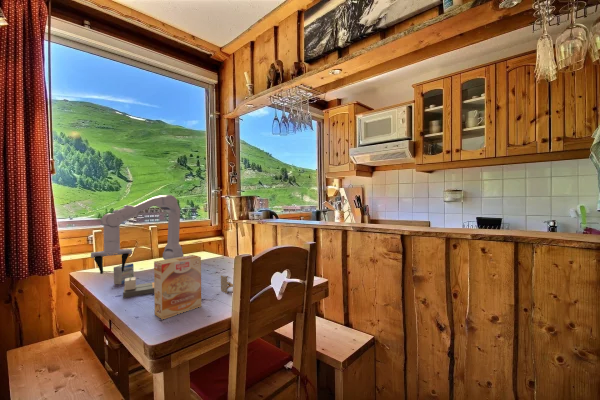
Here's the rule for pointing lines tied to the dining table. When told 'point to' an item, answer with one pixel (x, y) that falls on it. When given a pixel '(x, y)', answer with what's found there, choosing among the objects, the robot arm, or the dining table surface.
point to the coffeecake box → (177, 285)
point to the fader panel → (139, 290)
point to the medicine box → (123, 273)
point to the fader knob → (130, 283)
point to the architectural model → (225, 284)
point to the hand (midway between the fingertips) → (112, 272)
